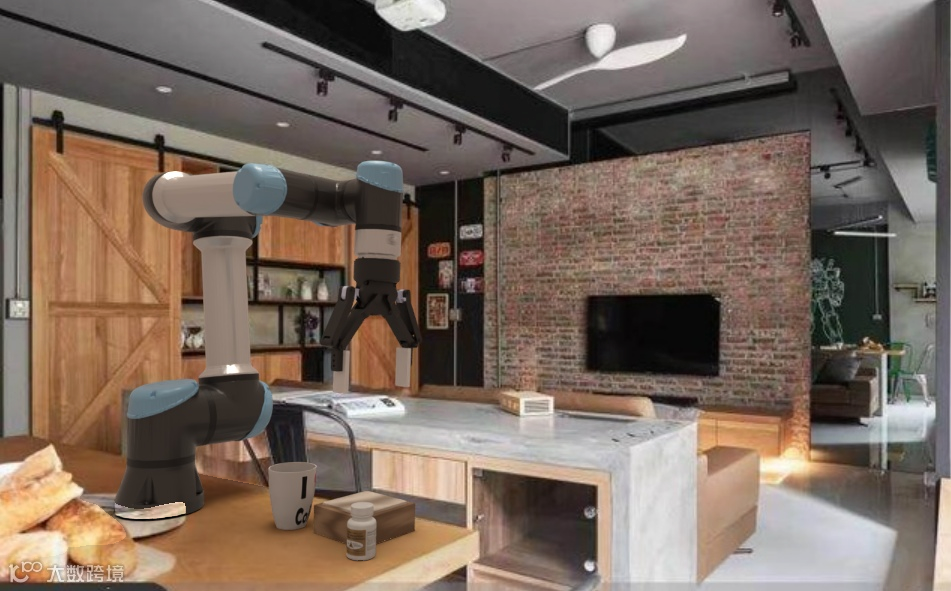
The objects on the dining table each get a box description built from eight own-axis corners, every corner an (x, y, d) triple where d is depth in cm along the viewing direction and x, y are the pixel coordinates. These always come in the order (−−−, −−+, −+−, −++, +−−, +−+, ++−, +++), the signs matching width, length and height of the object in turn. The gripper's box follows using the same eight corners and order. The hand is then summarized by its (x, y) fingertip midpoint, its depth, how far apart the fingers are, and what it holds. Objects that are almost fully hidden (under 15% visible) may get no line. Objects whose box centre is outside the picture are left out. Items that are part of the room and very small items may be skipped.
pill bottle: (340, 557, 100) (341, 505, 100) (359, 548, 103) (360, 499, 104) (362, 563, 97) (363, 510, 98) (381, 554, 101) (382, 503, 101)
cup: (302, 534, 109) (303, 474, 110) (257, 530, 111) (259, 470, 111) (323, 520, 117) (324, 463, 118) (281, 516, 119) (282, 460, 119)
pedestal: (313, 532, 111) (314, 502, 111) (366, 516, 120) (367, 488, 120) (361, 549, 103) (362, 517, 103) (414, 530, 113) (415, 500, 113)
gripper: (332, 250, 95) (327, 398, 94) (444, 263, 115) (441, 385, 114) (299, 252, 99) (294, 393, 99) (413, 264, 119) (409, 381, 119)
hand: (373, 389), depth 107 cm, fingers open, 13 cm apart
